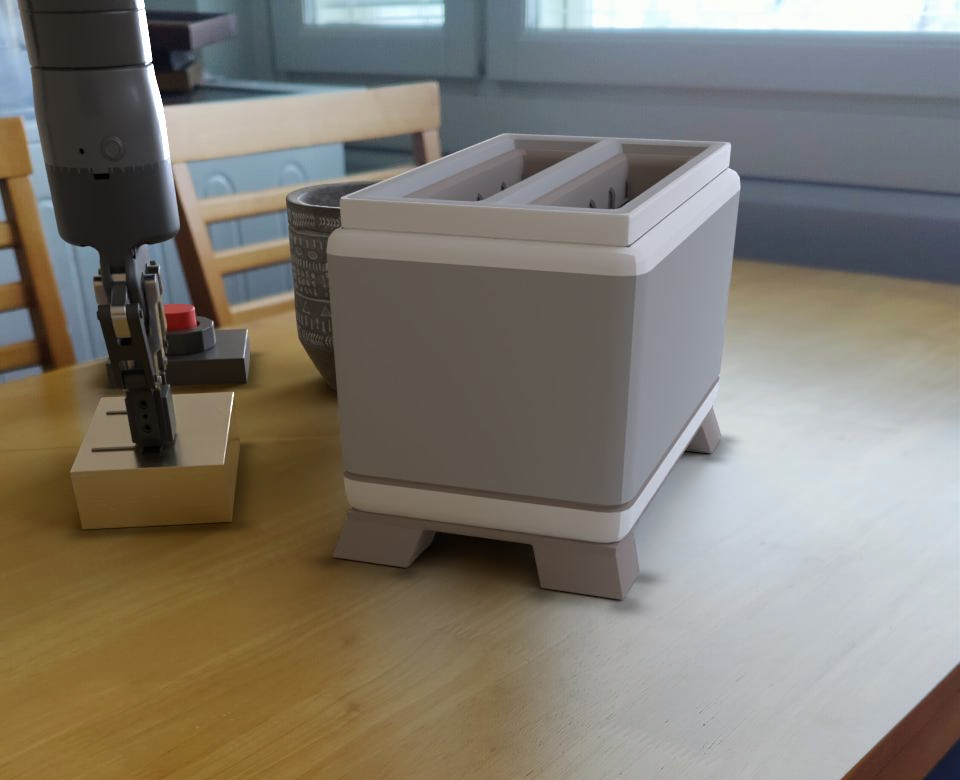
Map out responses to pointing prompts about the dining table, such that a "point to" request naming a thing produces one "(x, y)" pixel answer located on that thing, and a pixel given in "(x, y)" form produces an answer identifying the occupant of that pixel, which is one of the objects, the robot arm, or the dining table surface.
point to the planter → (315, 266)
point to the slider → (167, 410)
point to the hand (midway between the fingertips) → (154, 434)
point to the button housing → (203, 356)
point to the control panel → (159, 466)
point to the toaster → (530, 345)
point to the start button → (180, 317)
